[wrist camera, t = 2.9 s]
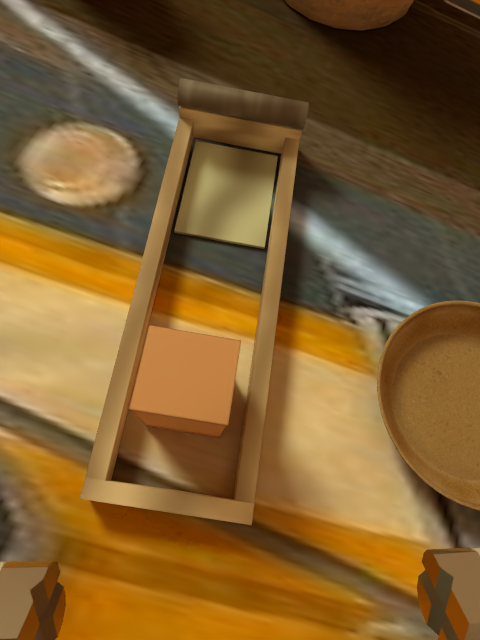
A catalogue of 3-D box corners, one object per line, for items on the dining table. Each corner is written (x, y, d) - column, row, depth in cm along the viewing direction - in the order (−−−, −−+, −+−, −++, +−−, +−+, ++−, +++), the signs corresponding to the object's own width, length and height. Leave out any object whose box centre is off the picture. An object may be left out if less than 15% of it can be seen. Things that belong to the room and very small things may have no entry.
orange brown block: (146, 426, 29) (128, 409, 21) (160, 361, 30) (149, 325, 23) (219, 438, 29) (228, 425, 22) (230, 373, 31) (241, 340, 23)
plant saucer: (325, 413, 31) (336, 408, 28) (426, 278, 35) (443, 263, 33) (499, 559, 28) (528, 567, 26) (582, 393, 33) (612, 387, 31)
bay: (88, 497, 27) (65, 501, 22) (183, 121, 38) (182, 72, 34) (248, 521, 27) (258, 531, 23) (296, 142, 39) (309, 96, 34)
